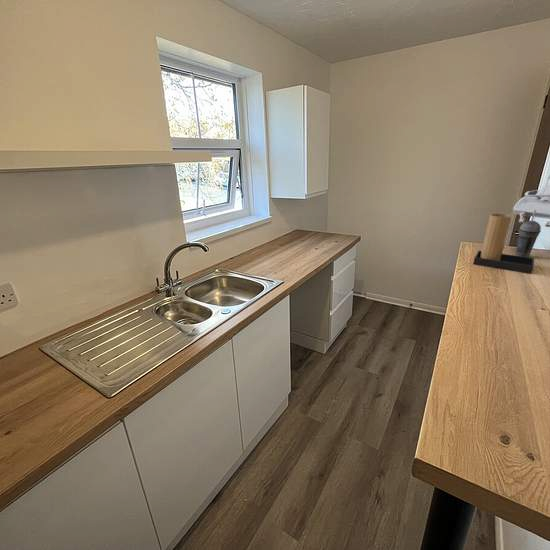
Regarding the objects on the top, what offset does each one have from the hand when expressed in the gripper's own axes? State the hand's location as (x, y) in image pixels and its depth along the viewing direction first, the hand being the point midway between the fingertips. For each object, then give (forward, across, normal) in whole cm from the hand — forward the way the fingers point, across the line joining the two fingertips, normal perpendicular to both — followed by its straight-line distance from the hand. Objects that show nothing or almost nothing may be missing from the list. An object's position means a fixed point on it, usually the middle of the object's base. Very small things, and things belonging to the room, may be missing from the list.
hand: (533, 224), depth 128 cm
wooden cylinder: (+25, +4, +6) cm, 26 cm away
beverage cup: (+12, 0, -8) cm, 14 cm away
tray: (+24, 0, +5) cm, 25 cm away
